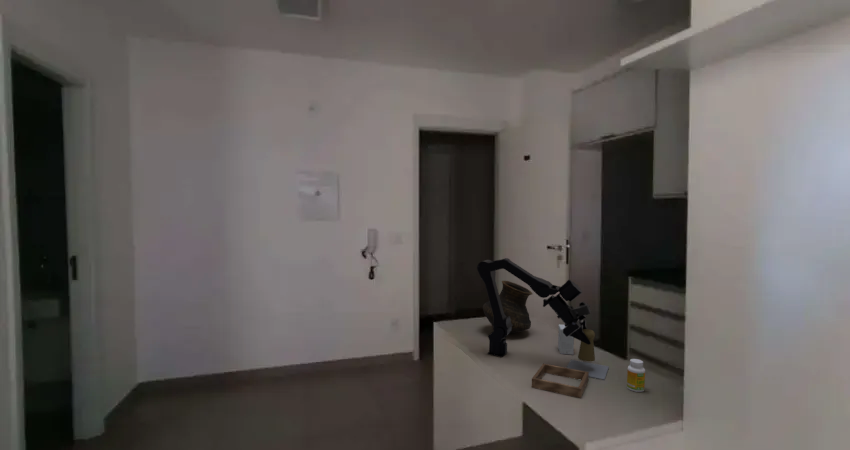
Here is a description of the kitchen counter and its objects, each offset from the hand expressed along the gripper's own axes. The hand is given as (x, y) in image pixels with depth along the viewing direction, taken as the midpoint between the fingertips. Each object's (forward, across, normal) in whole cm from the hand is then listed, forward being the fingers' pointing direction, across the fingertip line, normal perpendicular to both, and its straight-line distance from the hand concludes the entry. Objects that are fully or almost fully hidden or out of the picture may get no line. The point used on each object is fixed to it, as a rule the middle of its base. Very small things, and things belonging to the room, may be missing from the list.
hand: (590, 342), depth 159 cm
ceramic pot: (-22, +29, +38) cm, 52 cm away
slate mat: (+7, 0, +8) cm, 11 cm away
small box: (0, +17, +16) cm, 24 cm away
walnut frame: (+3, -18, +13) cm, 22 cm away
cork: (+4, 0, +6) cm, 7 cm away
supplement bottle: (+19, -9, -4) cm, 21 cm away
